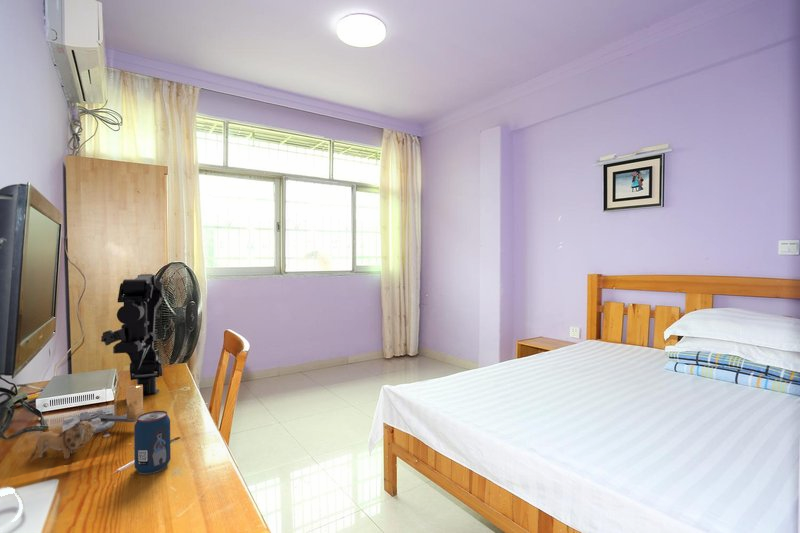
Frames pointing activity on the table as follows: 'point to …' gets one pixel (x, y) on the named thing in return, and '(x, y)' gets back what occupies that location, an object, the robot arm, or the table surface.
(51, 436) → the lion figurine
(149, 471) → the soda can
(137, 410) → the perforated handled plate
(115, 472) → the pencil
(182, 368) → the table surface
